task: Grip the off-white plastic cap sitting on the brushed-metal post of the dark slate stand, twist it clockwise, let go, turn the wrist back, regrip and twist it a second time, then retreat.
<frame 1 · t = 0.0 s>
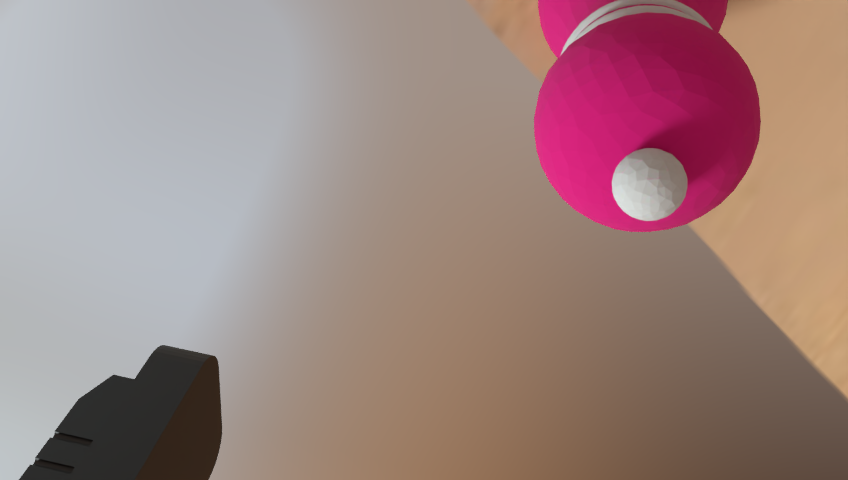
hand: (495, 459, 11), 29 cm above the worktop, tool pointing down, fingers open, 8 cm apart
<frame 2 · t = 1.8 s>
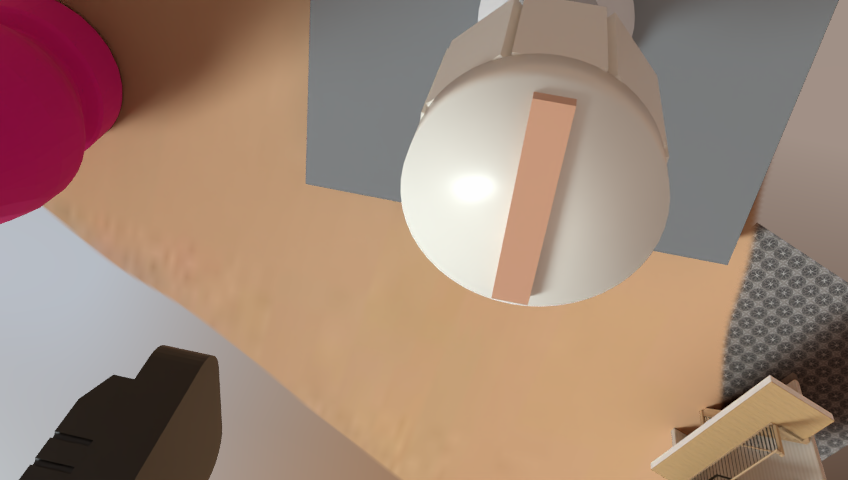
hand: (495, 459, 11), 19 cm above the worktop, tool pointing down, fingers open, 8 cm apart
architectural model: (729, 396, 36), on the worktop
cap: (529, 169, 21), point 8 cm above the worktop, touching stand
pepper mill: (52, 67, 32), on the worktop
stand: (557, 1, 26), on the worktop
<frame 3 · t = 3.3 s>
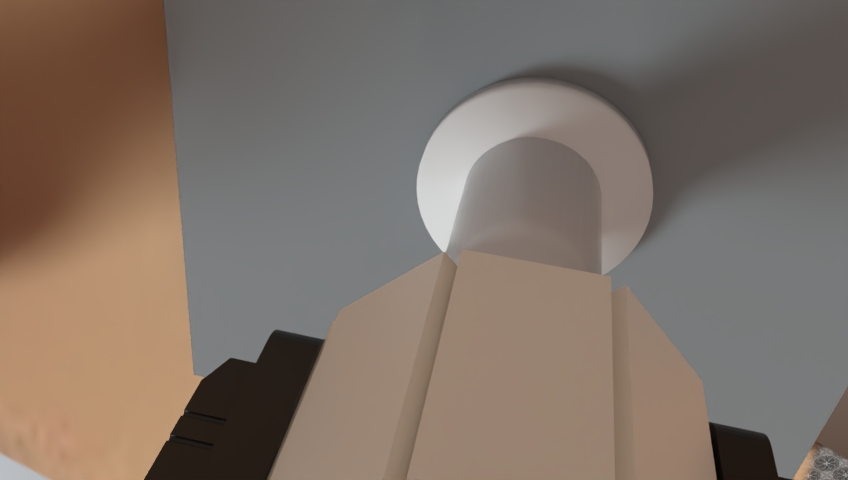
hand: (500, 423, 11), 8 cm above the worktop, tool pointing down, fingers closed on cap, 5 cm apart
stand: (538, 150, 18), on the worktop
when the fingers open (8 cm above the worktop, at t = 4.5 s): cap stays where it is, resting on stand.
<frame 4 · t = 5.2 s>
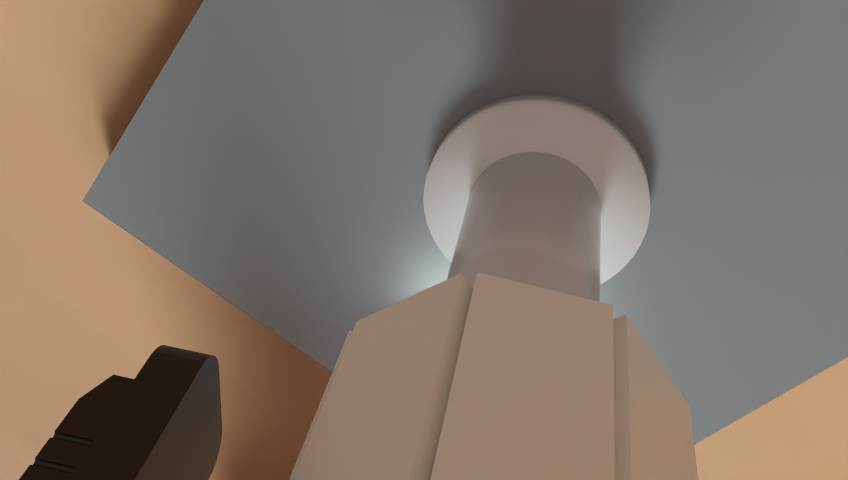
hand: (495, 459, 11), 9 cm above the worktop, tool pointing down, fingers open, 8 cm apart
stand: (540, 163, 19), on the worktop
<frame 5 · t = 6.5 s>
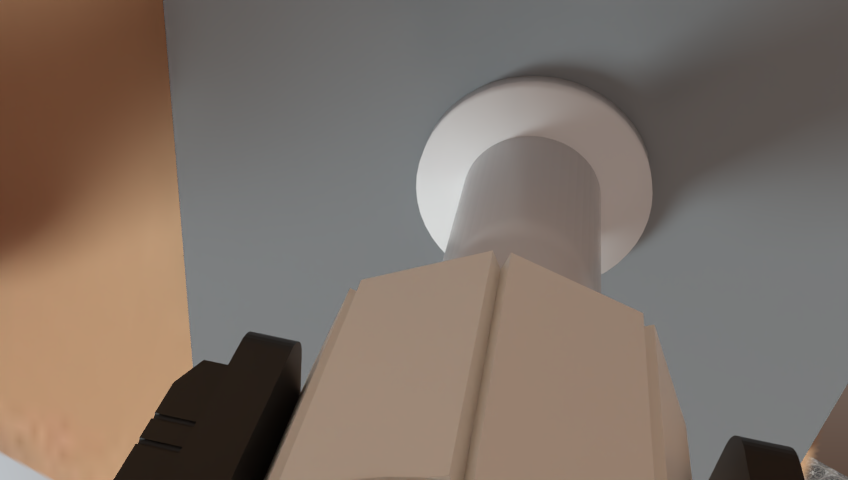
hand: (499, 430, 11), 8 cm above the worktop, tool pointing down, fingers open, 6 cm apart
cap: (369, 423, 12), point 8 cm above the worktop, touching gripper, stand
stand: (537, 149, 18), on the worktop
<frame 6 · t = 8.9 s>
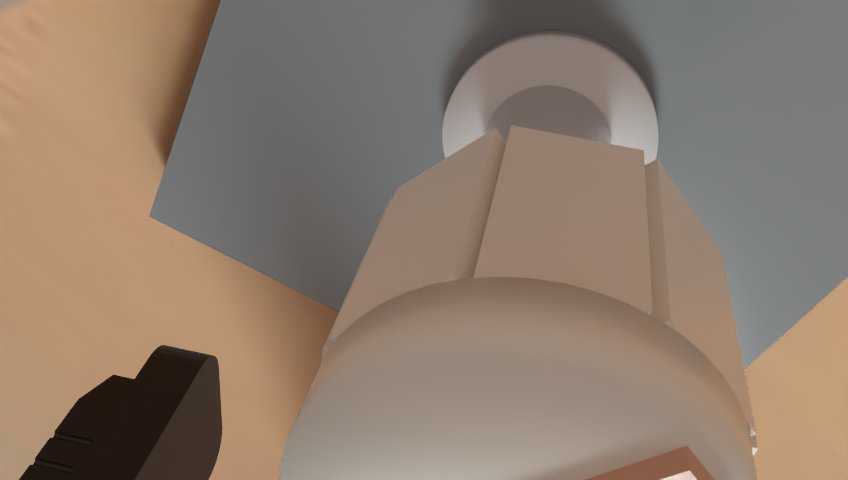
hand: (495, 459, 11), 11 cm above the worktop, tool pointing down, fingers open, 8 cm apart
cap: (445, 326, 14), point 8 cm above the worktop, touching stand
stand: (552, 104, 20), on the worktop
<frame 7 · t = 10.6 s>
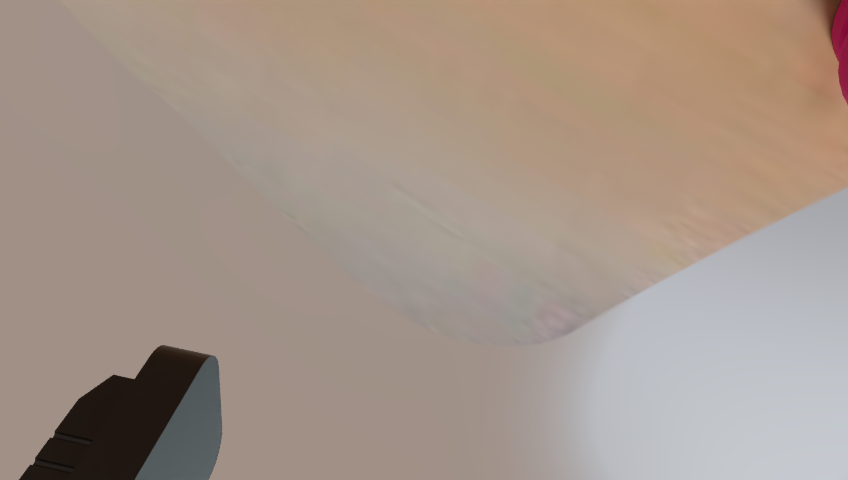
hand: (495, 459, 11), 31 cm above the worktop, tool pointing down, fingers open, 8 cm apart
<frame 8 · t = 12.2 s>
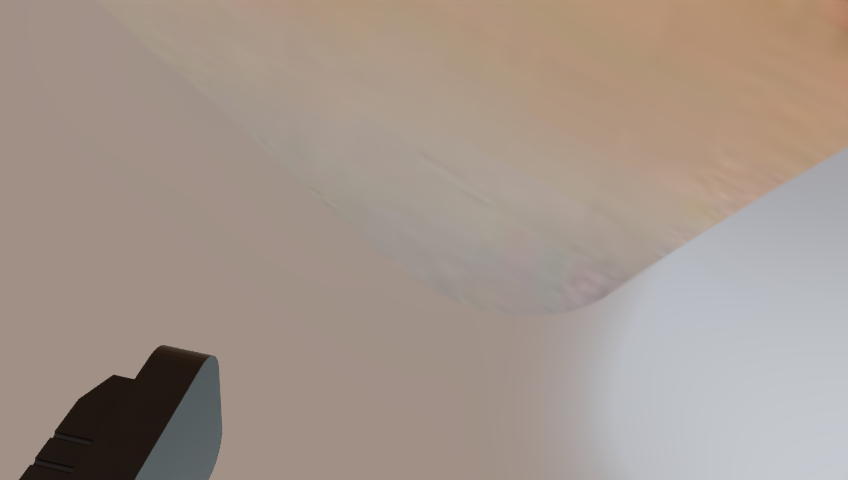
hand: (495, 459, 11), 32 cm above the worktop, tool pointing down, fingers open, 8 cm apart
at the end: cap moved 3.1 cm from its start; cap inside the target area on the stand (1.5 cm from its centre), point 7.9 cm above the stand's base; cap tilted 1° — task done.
